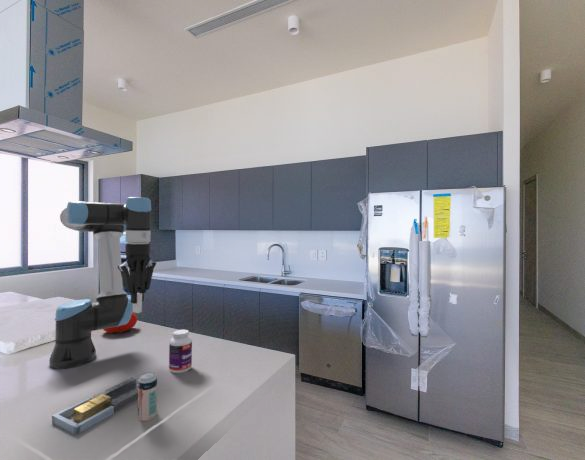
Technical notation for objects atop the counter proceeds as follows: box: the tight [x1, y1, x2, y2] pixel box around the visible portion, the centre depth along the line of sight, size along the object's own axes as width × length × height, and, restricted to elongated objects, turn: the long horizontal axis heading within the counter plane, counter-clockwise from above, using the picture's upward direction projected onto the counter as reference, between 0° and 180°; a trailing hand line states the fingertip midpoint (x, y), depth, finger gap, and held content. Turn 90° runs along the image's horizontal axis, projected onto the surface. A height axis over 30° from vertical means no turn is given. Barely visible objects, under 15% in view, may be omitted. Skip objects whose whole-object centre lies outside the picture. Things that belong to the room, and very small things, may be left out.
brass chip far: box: [89, 394, 111, 413], centre depth 87 cm, size 4×4×3 cm
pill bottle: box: [168, 329, 193, 374], centre depth 113 cm, size 8×8×14 cm
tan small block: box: [72, 402, 97, 423], centre depth 84 cm, size 4×4×3 cm
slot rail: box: [92, 377, 138, 413], centre depth 94 cm, size 10×13×2 cm
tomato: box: [102, 311, 138, 334], centre depth 154 cm, size 14×16×10 cm
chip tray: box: [51, 396, 115, 436], centre depth 83 cm, size 11×10×2 cm
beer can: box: [137, 371, 158, 422], centre depth 85 cm, size 5×5×12 cm
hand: (137, 312), depth 102 cm, fingers closed
